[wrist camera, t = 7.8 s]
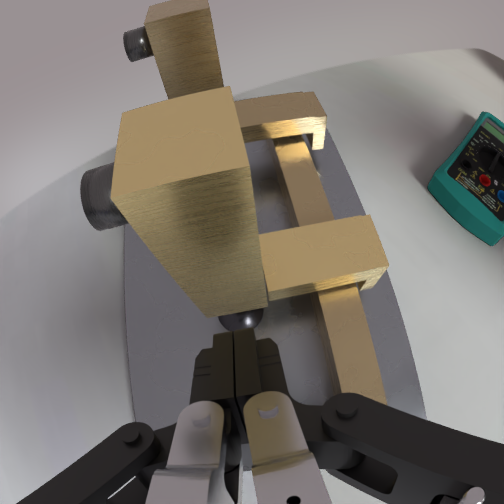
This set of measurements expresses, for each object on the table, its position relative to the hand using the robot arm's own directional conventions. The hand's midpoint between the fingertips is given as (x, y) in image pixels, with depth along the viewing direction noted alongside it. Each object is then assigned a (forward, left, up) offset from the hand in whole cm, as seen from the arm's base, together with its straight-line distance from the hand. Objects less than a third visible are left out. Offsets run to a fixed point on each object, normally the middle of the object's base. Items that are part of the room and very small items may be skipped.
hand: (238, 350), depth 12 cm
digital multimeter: (-23, -10, -7) cm, 26 cm away
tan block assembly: (-2, -6, -5) cm, 8 cm away
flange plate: (-1, -6, -6) cm, 9 cm away
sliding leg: (-2, -4, -5) cm, 7 cm away
